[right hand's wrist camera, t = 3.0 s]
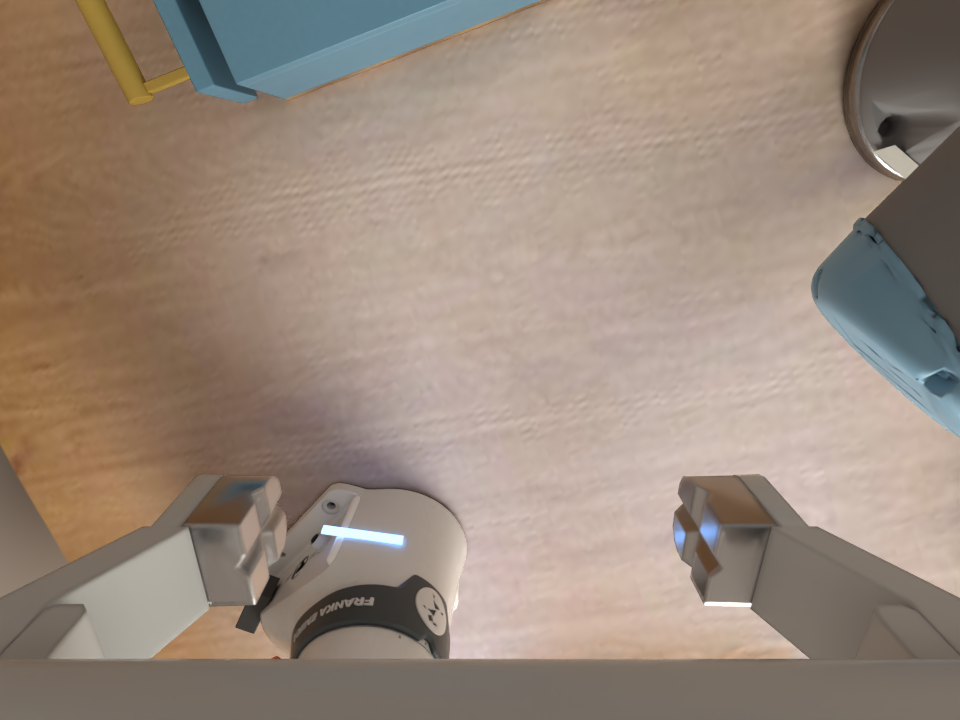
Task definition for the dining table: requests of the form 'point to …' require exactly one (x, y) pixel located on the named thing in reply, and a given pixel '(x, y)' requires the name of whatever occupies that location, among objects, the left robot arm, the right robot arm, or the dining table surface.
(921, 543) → the dining table surface
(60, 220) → the dining table surface
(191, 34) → the drawer
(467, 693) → the right robot arm
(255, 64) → the cabinet
